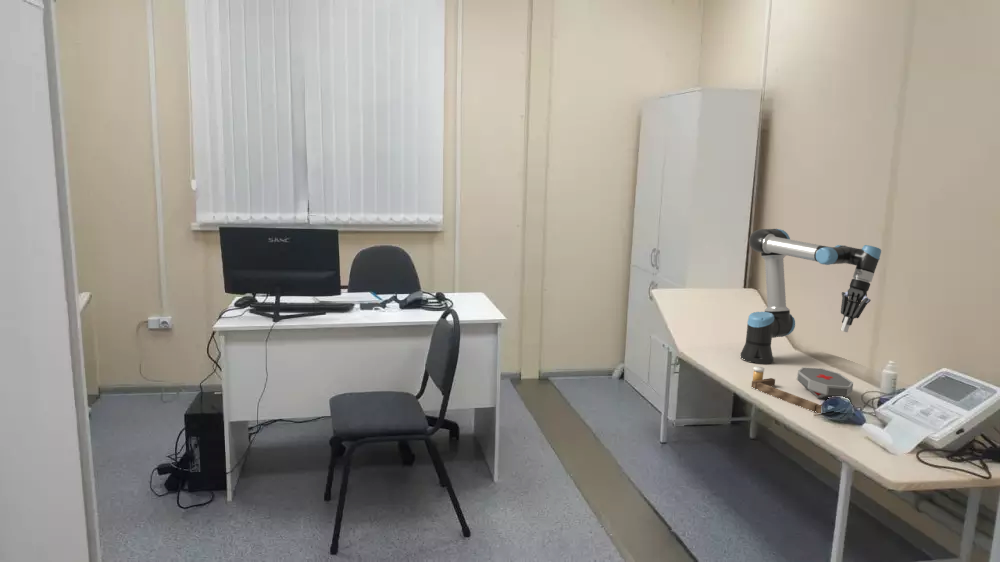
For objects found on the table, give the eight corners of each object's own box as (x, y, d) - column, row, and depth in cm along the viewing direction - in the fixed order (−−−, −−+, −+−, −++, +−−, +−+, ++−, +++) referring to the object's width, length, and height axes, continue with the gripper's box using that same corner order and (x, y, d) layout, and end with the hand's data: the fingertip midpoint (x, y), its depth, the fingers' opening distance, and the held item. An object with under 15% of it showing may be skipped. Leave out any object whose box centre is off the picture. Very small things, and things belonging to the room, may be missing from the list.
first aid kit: (858, 405, 262) (830, 385, 287) (860, 387, 261) (832, 369, 286) (814, 402, 263) (790, 383, 288) (816, 385, 262) (792, 366, 286)
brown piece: (751, 387, 278) (752, 381, 278) (770, 384, 284) (771, 378, 283) (820, 414, 249) (821, 407, 249) (840, 410, 255) (841, 403, 254)
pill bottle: (749, 382, 285) (751, 367, 284) (756, 381, 287) (758, 366, 286) (757, 386, 281) (759, 370, 280) (764, 384, 283) (766, 368, 282)
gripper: (843, 275, 291) (825, 325, 293) (869, 281, 279) (851, 333, 281) (853, 279, 294) (836, 329, 296) (880, 285, 282) (862, 337, 284)
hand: (843, 331), depth 289 cm, fingers closed
